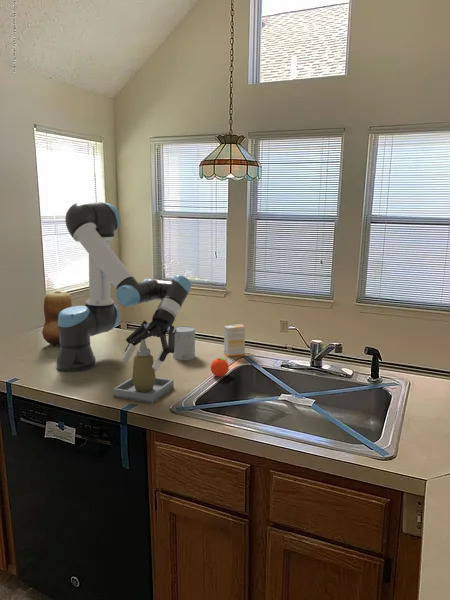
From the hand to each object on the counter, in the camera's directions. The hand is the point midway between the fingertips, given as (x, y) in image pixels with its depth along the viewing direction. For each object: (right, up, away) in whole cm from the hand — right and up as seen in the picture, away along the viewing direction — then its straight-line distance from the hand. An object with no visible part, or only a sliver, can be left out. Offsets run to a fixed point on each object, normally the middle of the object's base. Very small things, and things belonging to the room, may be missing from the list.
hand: (138, 365), depth 156 cm
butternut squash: (-48, +1, +58) cm, 75 cm away
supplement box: (+33, -2, +45) cm, 56 cm away
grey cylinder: (+12, -3, +42) cm, 44 cm away
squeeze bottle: (+1, -9, +4) cm, 10 cm away
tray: (+1, -10, +4) cm, 11 cm away
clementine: (+27, -7, +20) cm, 35 cm away
